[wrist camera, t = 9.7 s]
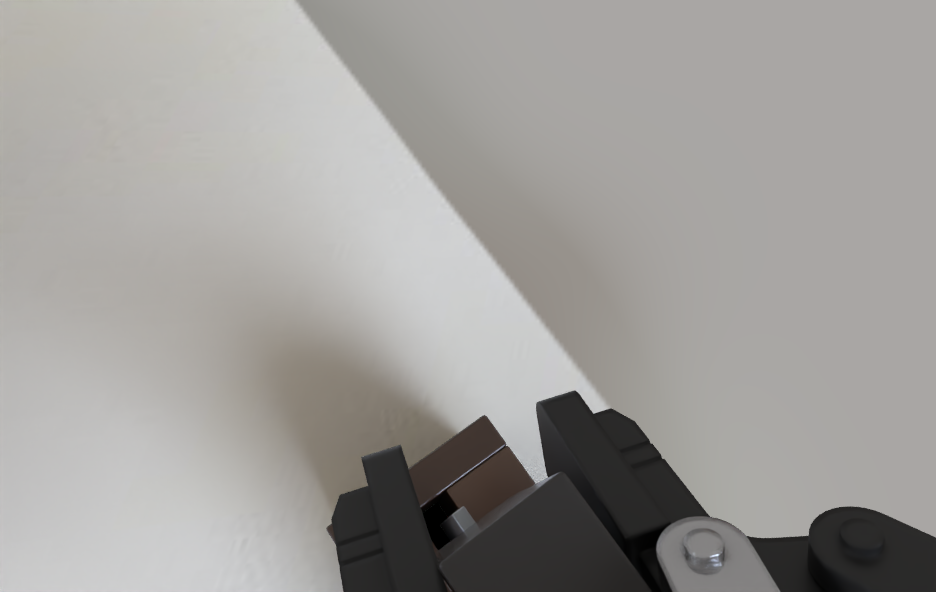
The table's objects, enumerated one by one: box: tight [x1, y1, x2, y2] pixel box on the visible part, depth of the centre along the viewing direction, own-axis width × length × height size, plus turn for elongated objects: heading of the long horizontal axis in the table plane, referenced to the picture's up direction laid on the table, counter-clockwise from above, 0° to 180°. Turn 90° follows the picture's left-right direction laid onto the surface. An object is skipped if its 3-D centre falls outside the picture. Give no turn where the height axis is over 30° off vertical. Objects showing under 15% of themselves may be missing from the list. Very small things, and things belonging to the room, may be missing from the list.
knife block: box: [327, 415, 535, 592], centre depth 22 cm, size 6×5×6 cm
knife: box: [435, 472, 652, 592], centre depth 16 cm, size 3×2×14 cm, turn 36°
